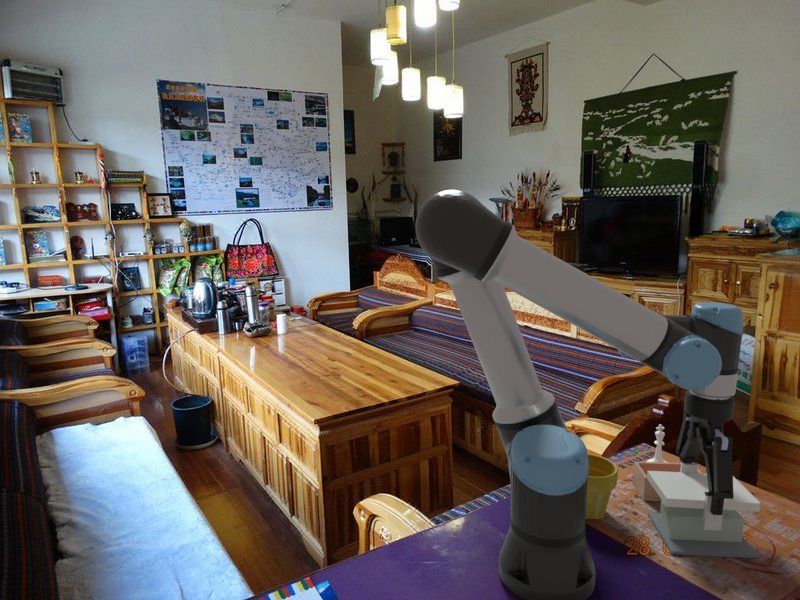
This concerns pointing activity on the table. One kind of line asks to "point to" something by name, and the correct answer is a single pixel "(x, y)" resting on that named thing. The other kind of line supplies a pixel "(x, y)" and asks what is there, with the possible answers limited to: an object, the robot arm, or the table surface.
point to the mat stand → (701, 533)
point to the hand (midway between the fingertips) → (698, 511)
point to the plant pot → (599, 485)
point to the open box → (642, 482)
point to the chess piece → (658, 445)
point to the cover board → (697, 491)
